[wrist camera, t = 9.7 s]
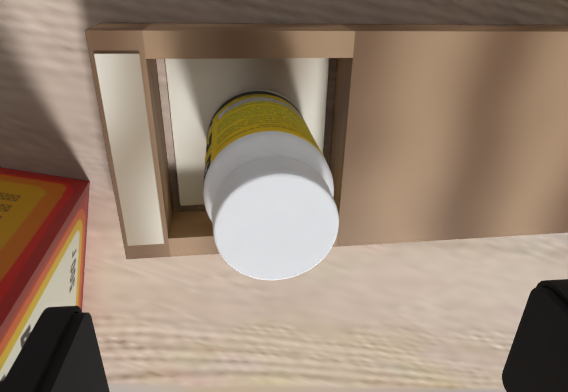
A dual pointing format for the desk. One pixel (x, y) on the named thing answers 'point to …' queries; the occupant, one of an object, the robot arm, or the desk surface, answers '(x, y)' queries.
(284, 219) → the supplement bottle
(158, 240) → the wooden tray
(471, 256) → the desk surface
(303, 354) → the desk surface
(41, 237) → the baking soda box
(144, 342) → the desk surface
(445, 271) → the desk surface
